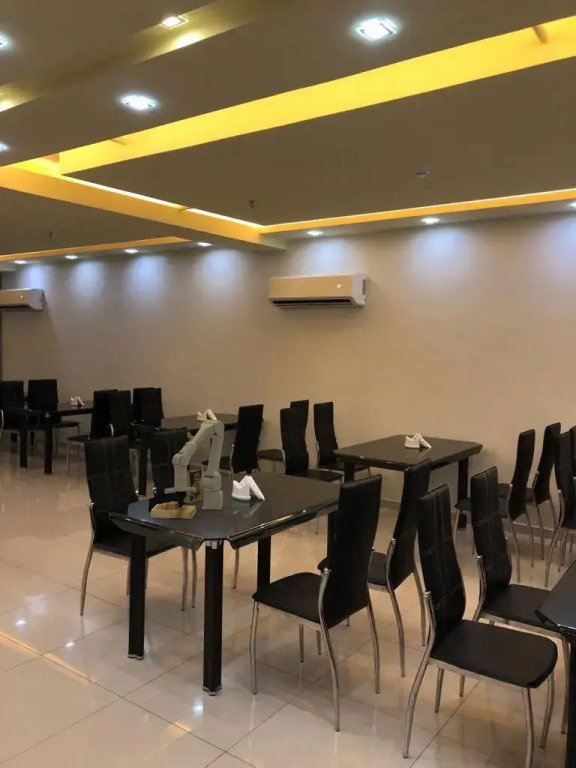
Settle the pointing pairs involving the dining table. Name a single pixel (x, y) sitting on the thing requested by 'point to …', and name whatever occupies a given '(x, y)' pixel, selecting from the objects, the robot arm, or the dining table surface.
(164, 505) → the tile
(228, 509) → the dining table surface
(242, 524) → the dining table surface
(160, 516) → the tray
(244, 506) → the dining table surface
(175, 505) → the tile
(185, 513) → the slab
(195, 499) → the coffee box
